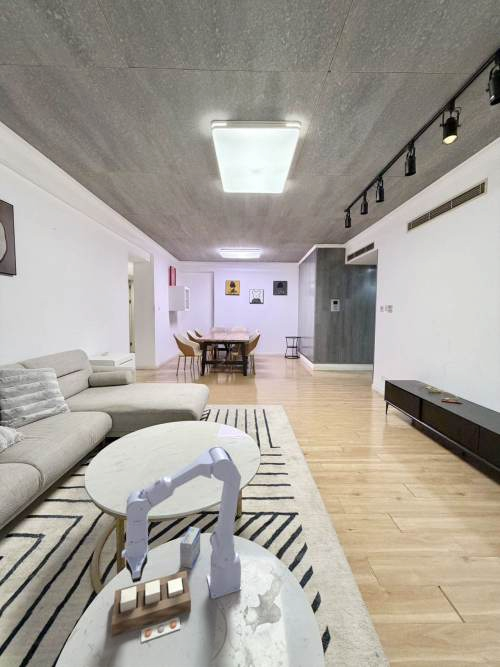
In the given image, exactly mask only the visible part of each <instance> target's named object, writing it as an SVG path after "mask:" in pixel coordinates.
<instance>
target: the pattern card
mask: <svg viewBox="0 0 500 667" xmlns="http://www.w3.org/2000/svg"><path fill="white" fill-rule="evenodd" d="M180 622H181V621H180V617H179V616H178V617H175V618H172V619H169V620H167V621H164V622H160V623H157V624H155V625H152V626H149V627H145V628H143V629H141V634H140V636H141V637H140V638H141V643H145V642H147V641H150V640H151V641H152V640H154V639H156V638H159V637H162V636H164V635H165V636H166V635H169V634H171V633H173V632H177V631H179V630H181V624H180Z"/></svg>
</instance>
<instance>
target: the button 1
mask: <svg viewBox="0 0 500 667" xmlns="http://www.w3.org/2000/svg"><path fill="white" fill-rule="evenodd" d="M133 609H136V586H135V587H131V588H128V589H124V590H122V592H121V613H123V612H126V611H130V610H133Z"/></svg>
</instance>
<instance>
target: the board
mask: <svg viewBox="0 0 500 667" xmlns="http://www.w3.org/2000/svg"><path fill="white" fill-rule="evenodd" d="M178 578H181V579H182V587H183V594H181V595H178V596H175V597H171V598H168V581H171V580H174V579H178ZM156 580H160V601H159V602H155V603H152V604H149V605H146V606H145V583H149V582H152V581H156ZM135 586H136V609H133V610H130V611H126V612H123V613H121V592H122V590H124V589H128V588H131V587H135ZM190 591H191V590H190V584H189V580H188V572H187V570H184V571H180V572H175V573H172V574H169V575H165V576H162V577H159V578H155V579H151V580H149V581H145V582H140V583H137V584H134V585H130V586H125V587H123V588H119V589H116V590H114V596H113V598H114V599H113V606H112V617H111V625H110V626H111V627H110V628H111V633H110V634H111V638H113V637H116V636H118V635H122V634H125V633H127V632H131V631H133V630H137V629H140V628H143V627H146V626H149V625H151V624H154V623H158V622H161V621H163V620H167V619H170V618H173V617H176V616H179V615H181V614H182V615H183V614H185V613H187V612H190V611H192V597H191V596H192V595H191V592H190Z"/></svg>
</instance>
